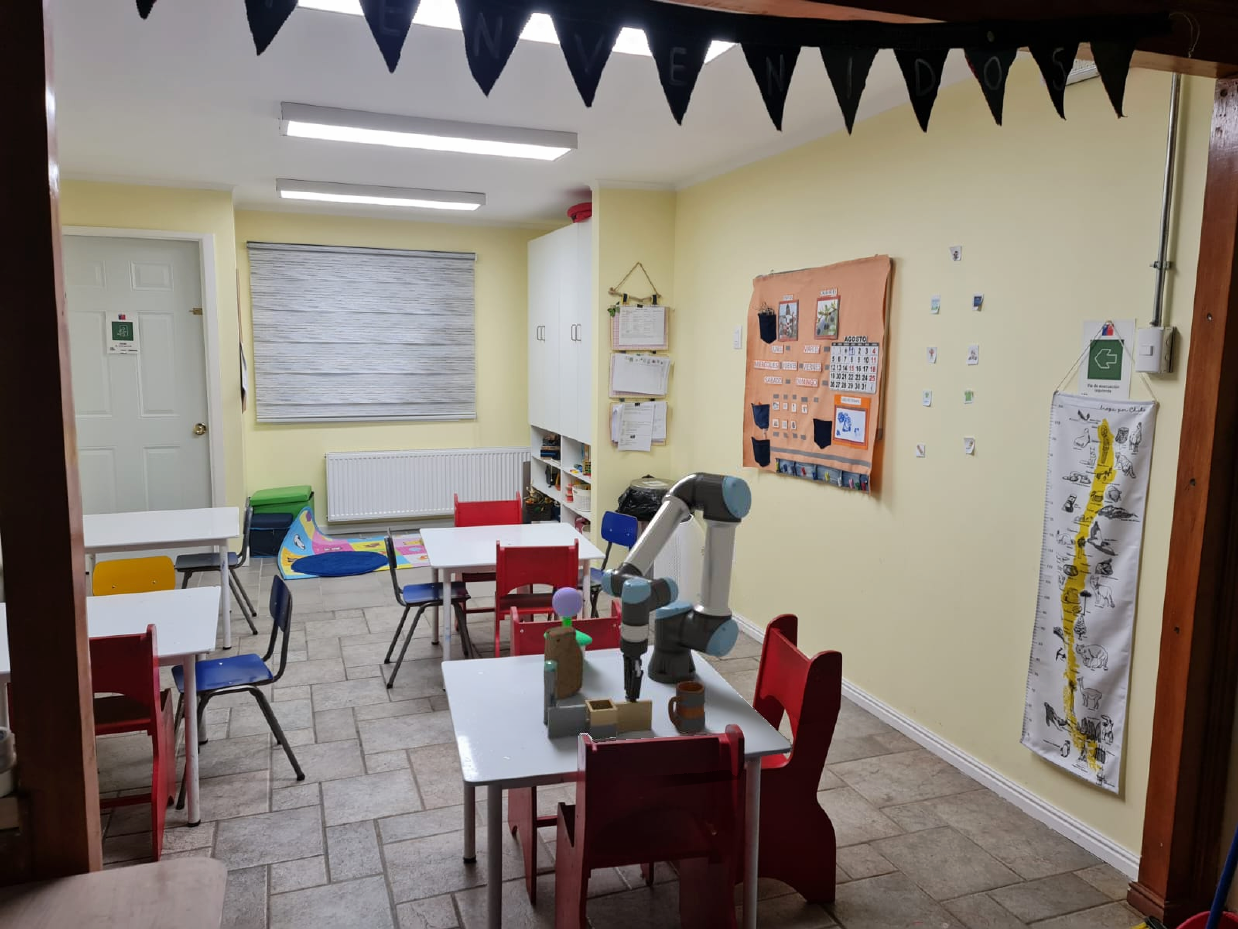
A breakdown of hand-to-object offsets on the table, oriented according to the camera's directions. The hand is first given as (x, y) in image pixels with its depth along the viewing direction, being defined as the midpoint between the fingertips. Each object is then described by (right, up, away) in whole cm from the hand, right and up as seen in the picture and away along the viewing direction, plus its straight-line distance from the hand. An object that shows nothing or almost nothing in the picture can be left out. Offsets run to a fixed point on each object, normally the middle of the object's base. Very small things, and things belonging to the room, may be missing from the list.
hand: (630, 719), depth 234 cm
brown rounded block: (-20, +2, +20) cm, 28 cm away
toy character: (-20, +5, +44) cm, 49 cm away
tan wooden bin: (-3, -2, -4) cm, 6 cm away
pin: (-22, -1, +1) cm, 22 cm away
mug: (+15, -2, -1) cm, 15 cm away
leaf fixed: (-13, -2, -6) cm, 15 cm away
